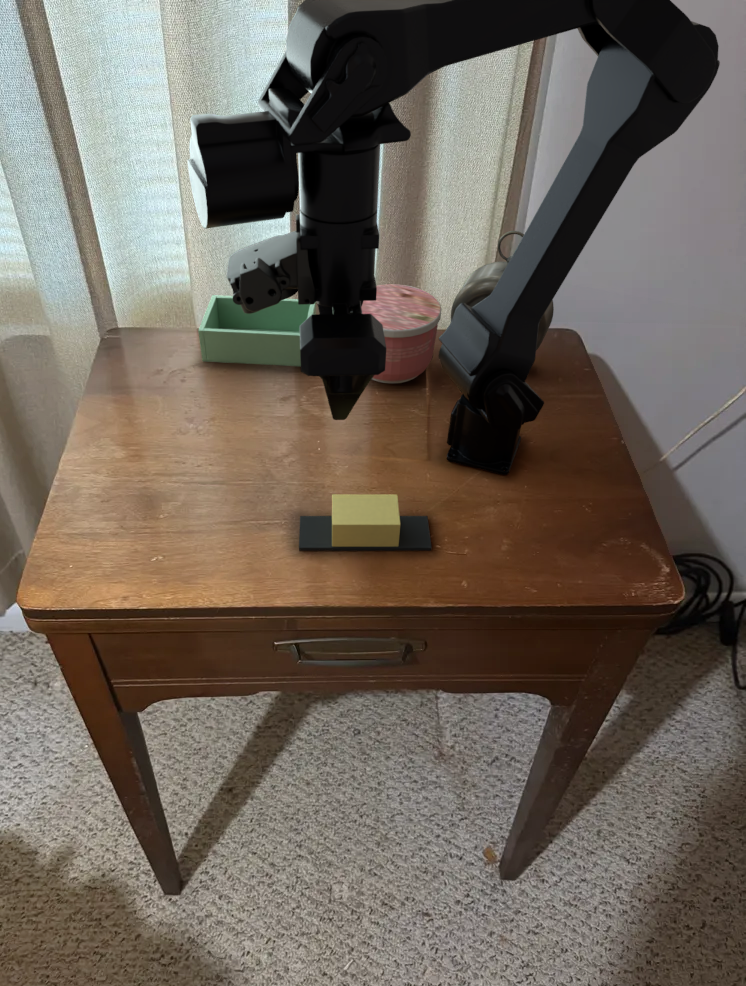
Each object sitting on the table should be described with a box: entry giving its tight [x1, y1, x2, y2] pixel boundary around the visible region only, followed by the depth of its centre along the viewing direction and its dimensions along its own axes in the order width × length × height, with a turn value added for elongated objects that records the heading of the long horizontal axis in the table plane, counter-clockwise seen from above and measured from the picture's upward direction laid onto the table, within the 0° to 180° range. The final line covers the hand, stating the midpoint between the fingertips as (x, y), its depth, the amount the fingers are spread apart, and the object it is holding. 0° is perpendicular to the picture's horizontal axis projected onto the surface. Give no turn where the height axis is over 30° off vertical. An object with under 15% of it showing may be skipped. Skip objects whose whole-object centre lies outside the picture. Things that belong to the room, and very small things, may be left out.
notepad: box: [331, 493, 401, 547], centre depth 69 cm, size 4×6×3 cm, turn 91°
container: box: [361, 283, 443, 384], centre depth 86 cm, size 10×10×8 cm
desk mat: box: [298, 515, 433, 552], centre depth 70 cm, size 12×4×1 cm, turn 91°
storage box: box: [197, 294, 317, 367], centre depth 90 cm, size 13×8×4 cm, turn 86°
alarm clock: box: [450, 230, 555, 351], centre depth 84 cm, size 11×5×16 cm, turn 66°
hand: (336, 387), depth 66 cm, fingers open, 9 cm apart
